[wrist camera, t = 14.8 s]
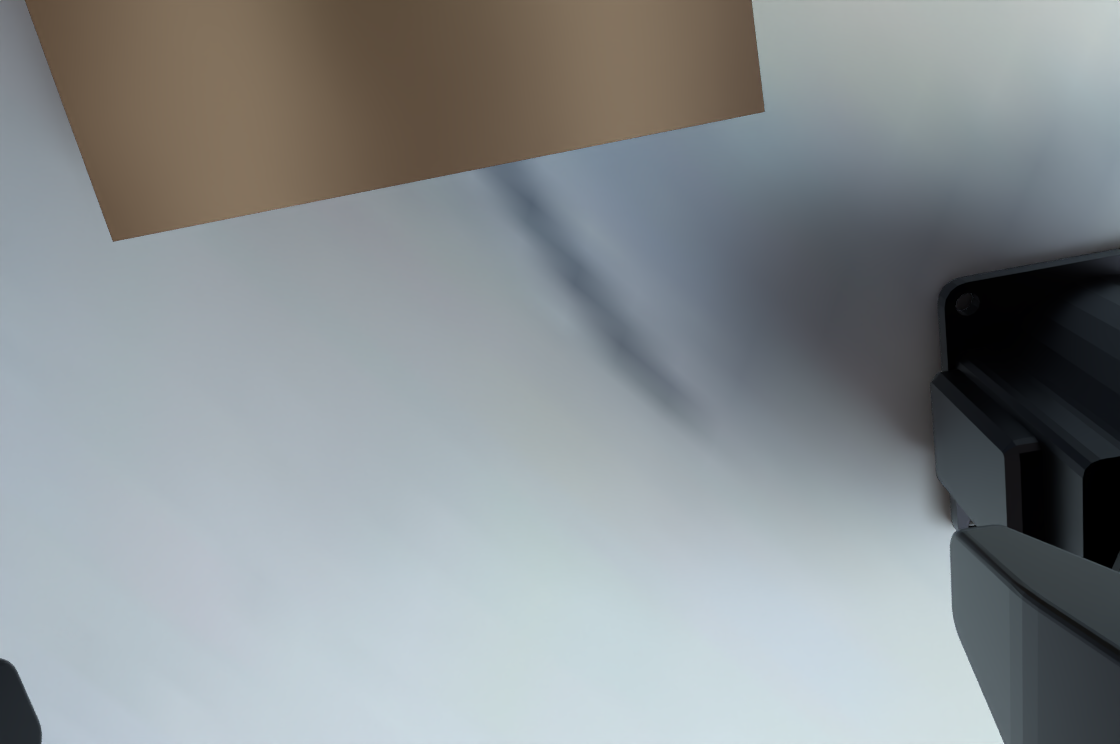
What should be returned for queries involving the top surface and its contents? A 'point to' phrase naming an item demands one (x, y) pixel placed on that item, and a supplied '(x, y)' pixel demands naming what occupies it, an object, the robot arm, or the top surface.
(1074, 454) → the robot arm
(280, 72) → the brown flat block
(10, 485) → the top surface
